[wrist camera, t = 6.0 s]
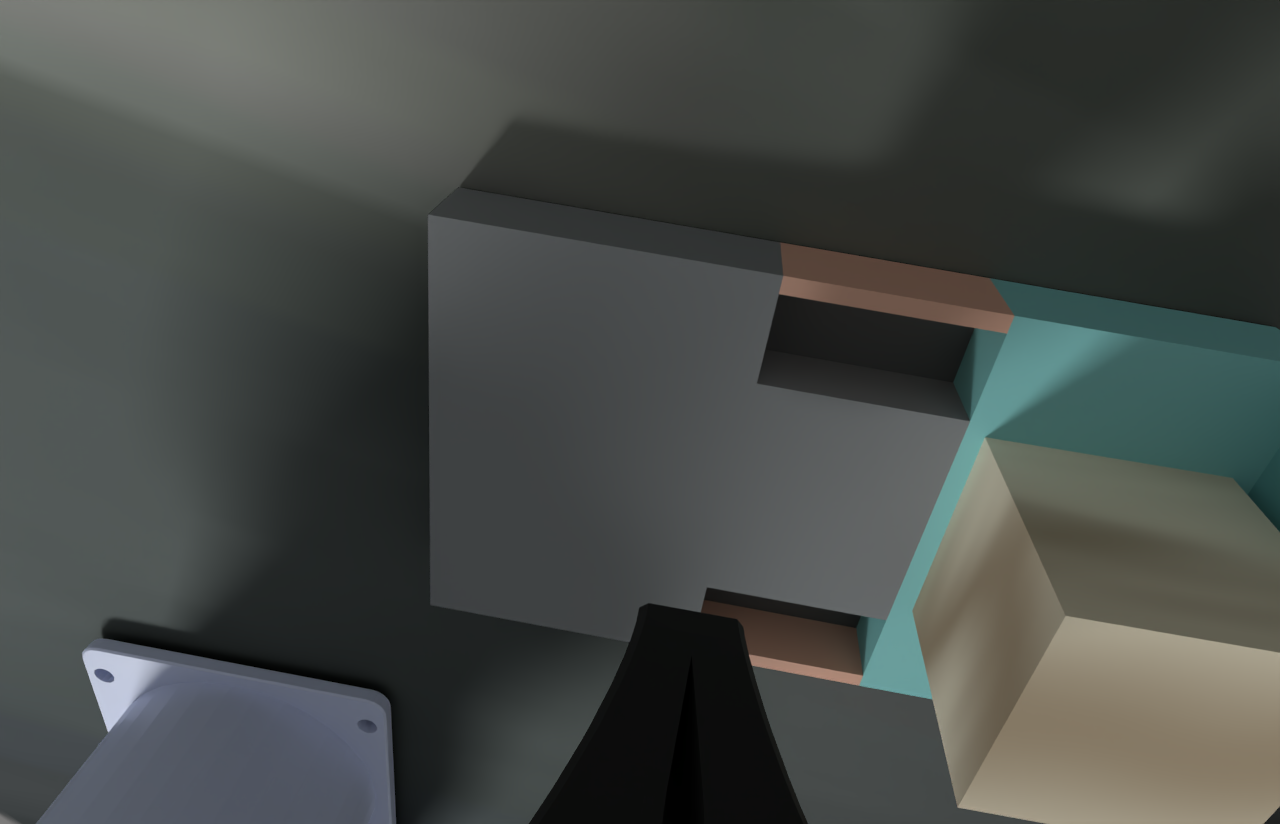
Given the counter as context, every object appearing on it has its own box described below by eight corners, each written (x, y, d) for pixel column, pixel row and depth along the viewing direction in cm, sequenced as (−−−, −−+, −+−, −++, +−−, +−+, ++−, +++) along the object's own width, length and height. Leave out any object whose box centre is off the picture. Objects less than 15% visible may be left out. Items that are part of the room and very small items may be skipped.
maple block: (1124, 647, 15) (1232, 857, 12) (912, 610, 15) (957, 807, 12) (1232, 478, 13) (1401, 673, 10) (984, 437, 13) (1065, 616, 10)
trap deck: (453, 557, 18) (383, 704, 15) (458, 187, 14) (359, 274, 10) (1091, 675, 18) (1173, 855, 14) (1313, 333, 13) (1508, 476, 10)
